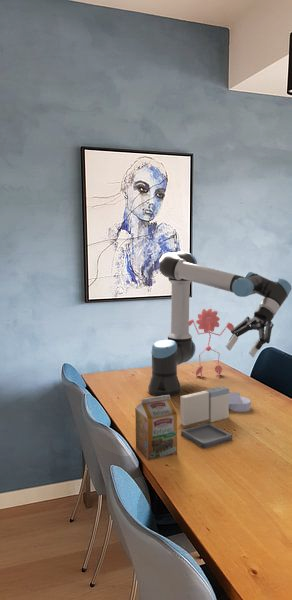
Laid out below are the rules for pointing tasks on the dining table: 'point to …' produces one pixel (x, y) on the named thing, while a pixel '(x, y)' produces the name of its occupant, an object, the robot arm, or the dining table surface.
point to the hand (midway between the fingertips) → (239, 351)
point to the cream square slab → (194, 409)
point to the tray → (206, 435)
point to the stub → (218, 403)
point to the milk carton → (156, 427)
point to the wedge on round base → (239, 402)
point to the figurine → (208, 323)
